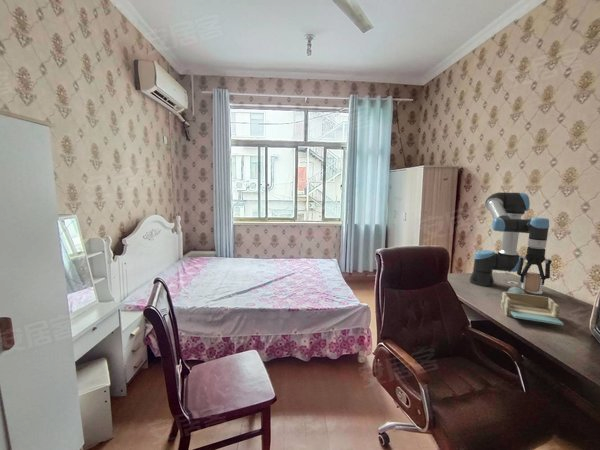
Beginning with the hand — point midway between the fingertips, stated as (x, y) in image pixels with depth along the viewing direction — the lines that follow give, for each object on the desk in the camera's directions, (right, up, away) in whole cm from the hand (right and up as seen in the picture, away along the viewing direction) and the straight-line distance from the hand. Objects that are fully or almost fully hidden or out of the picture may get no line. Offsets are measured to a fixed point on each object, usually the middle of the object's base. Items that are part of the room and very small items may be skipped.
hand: (530, 289), depth 158 cm
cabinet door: (-3, -12, -5) cm, 14 cm away
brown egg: (0, 0, 0) cm, 0 cm away
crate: (0, -14, +3) cm, 15 cm away
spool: (+7, -12, +21) cm, 25 cm away
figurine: (+31, -10, +38) cm, 50 cm away
